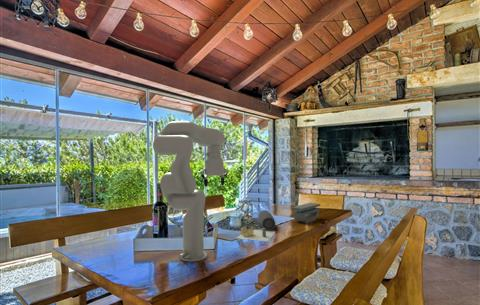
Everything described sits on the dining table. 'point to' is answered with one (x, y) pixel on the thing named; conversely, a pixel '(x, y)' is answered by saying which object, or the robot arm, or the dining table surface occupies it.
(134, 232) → the dining table surface
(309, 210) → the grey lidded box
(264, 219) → the bluetooth speaker
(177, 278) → the dining table surface
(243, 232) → the brass ring
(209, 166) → the robot arm
